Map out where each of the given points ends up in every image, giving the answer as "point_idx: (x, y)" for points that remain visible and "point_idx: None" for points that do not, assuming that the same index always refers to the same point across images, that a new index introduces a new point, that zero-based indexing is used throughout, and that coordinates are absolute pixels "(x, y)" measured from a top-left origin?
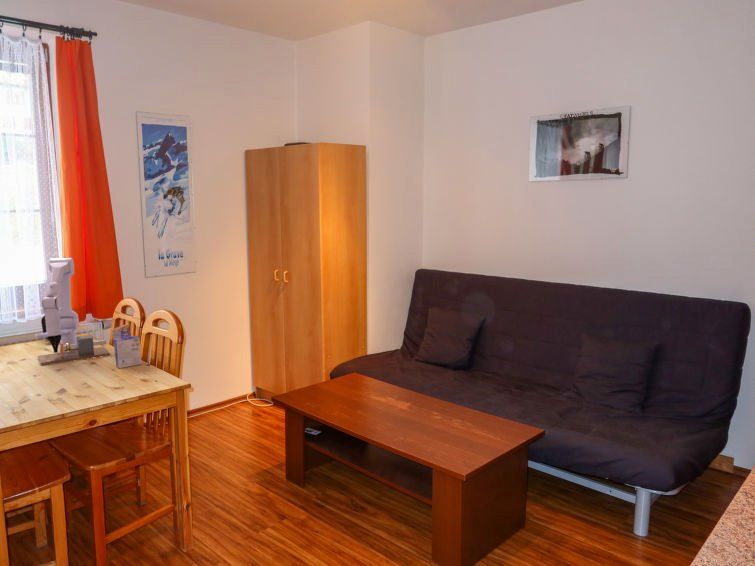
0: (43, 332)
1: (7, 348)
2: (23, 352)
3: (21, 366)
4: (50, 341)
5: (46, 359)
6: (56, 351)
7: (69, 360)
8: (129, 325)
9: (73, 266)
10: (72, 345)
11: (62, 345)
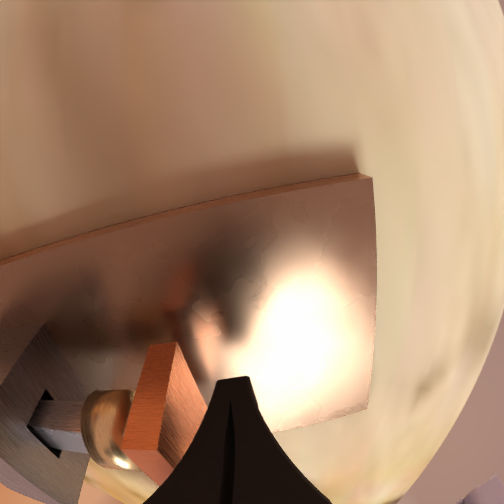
0: None
1: (412, 482)
2: (391, 464)
3: (473, 224)
4: (304, 492)
5: (319, 300)
6: (225, 385)
7: (95, 232)
8: None
9: None
10: (71, 427)
11: (135, 428)
